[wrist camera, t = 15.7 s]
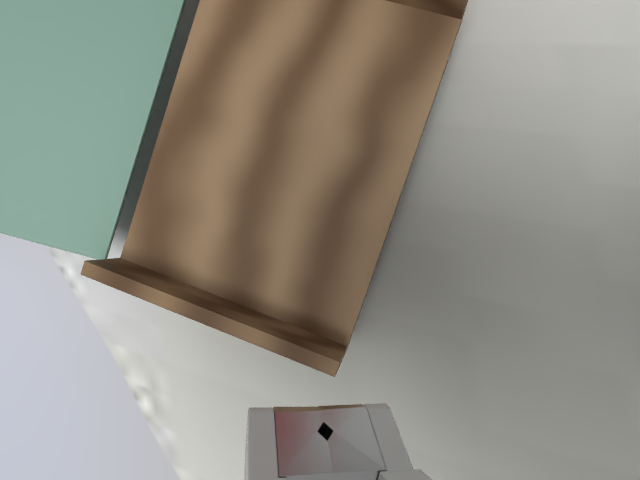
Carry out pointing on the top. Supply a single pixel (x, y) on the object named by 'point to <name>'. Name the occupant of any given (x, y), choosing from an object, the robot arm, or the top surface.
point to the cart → (284, 166)
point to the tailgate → (76, 113)
